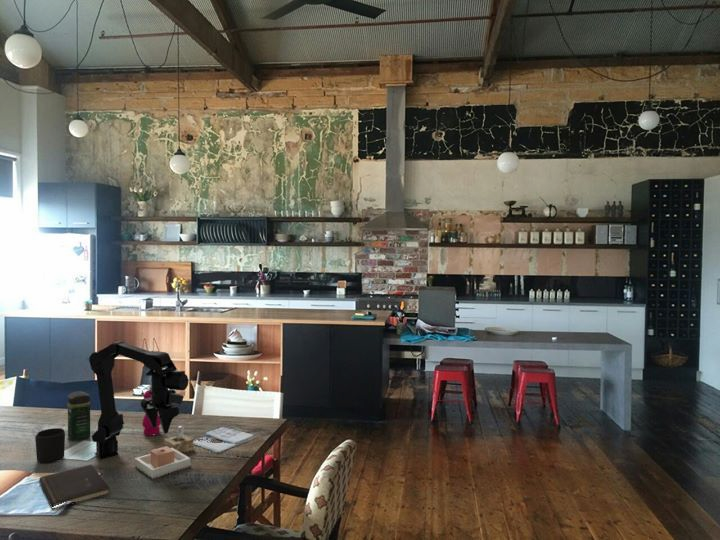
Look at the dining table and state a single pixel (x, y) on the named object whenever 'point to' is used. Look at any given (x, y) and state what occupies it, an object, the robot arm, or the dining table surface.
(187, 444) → the oak block
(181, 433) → the cylinder
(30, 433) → the dining table surface
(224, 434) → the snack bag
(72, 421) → the coffee jar
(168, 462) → the rust block
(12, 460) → the dining table surface
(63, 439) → the pen holder
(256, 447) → the dining table surface
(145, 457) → the tray
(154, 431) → the pepper mill
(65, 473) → the hardcover book
